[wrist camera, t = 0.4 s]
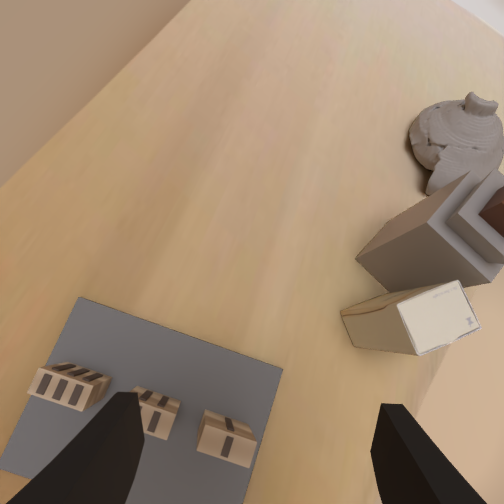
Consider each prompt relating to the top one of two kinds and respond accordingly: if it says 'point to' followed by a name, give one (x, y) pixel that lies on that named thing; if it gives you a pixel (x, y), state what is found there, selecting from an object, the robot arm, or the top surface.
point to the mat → (161, 381)
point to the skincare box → (412, 319)
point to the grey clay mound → (458, 139)
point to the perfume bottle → (443, 237)
